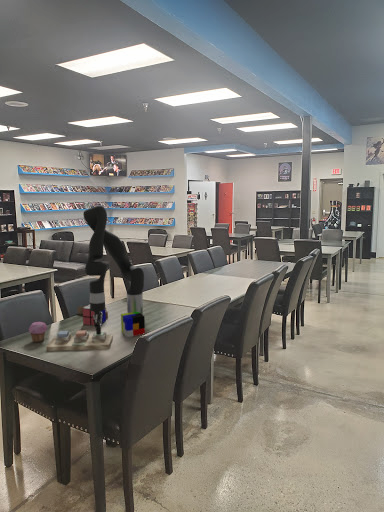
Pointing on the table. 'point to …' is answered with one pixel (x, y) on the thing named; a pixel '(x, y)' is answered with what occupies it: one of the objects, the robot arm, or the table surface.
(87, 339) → the button panel
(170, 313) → the table surface
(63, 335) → the slate button
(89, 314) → the puzzle cube
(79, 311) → the wooden block set
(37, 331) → the cupcake
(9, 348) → the table surface
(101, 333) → the sage button
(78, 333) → the terracotta button
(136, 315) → the puzzle toy
